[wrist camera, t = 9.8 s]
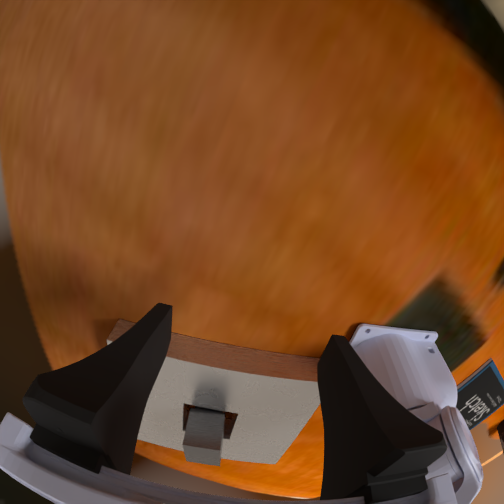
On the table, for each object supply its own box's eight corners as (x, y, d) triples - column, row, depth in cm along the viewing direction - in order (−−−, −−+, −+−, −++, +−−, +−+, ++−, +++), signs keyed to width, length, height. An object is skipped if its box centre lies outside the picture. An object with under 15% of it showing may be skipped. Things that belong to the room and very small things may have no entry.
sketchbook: (509, 392, 32) (513, 399, 31) (388, 471, 43) (390, 478, 42) (489, 355, 27) (495, 364, 25) (327, 458, 38) (328, 468, 36)
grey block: (228, 390, 29) (220, 450, 22) (226, 411, 31) (219, 466, 24) (195, 385, 29) (182, 444, 22) (197, 407, 31) (186, 460, 24)
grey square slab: (328, 359, 26) (332, 383, 23) (275, 446, 35) (275, 464, 32) (119, 318, 25) (106, 339, 22) (136, 420, 34) (130, 436, 31)
